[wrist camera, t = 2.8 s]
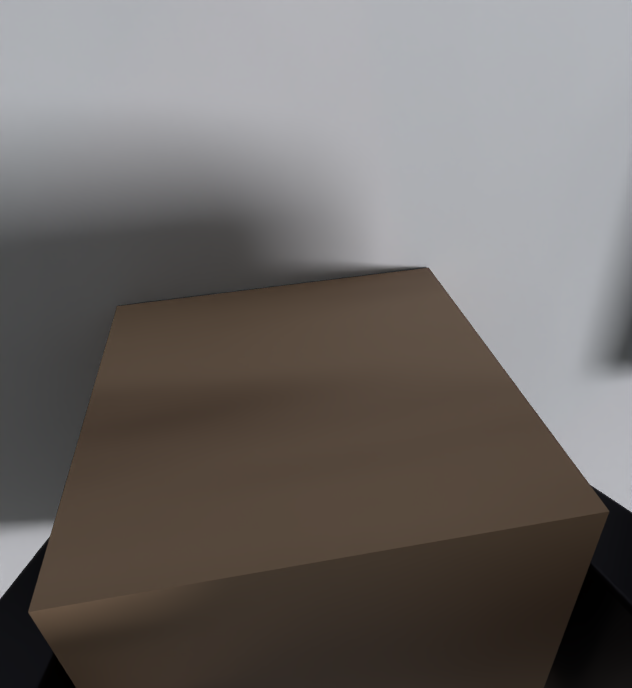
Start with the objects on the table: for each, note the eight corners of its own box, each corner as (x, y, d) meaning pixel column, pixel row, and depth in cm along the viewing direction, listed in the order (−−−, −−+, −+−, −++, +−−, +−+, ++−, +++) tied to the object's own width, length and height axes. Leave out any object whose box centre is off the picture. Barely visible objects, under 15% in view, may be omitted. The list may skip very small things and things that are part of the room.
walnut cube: (414, 477, 12) (522, 744, 8) (179, 515, 11) (160, 822, 7) (428, 267, 9) (609, 511, 5) (116, 305, 9) (27, 612, 4)
